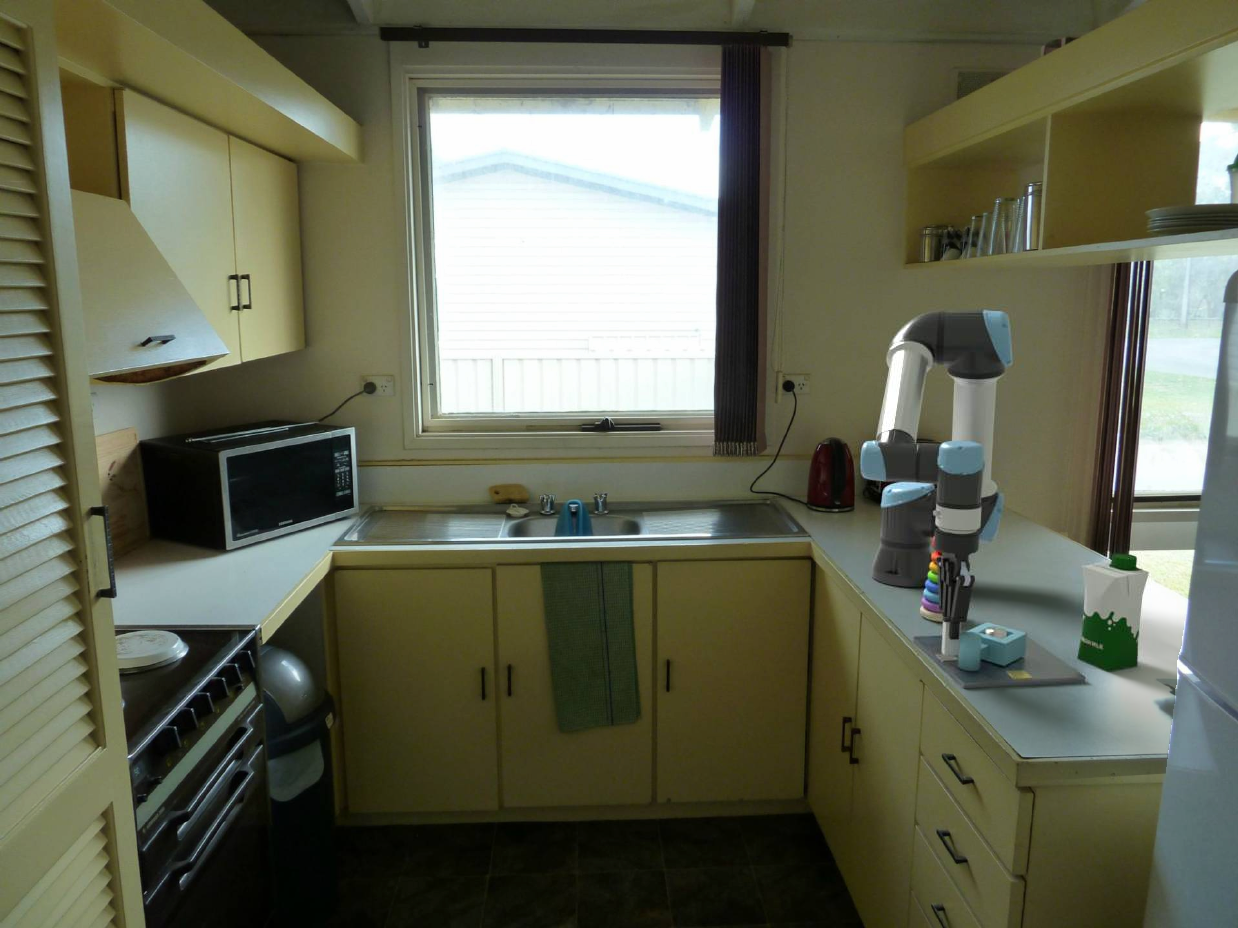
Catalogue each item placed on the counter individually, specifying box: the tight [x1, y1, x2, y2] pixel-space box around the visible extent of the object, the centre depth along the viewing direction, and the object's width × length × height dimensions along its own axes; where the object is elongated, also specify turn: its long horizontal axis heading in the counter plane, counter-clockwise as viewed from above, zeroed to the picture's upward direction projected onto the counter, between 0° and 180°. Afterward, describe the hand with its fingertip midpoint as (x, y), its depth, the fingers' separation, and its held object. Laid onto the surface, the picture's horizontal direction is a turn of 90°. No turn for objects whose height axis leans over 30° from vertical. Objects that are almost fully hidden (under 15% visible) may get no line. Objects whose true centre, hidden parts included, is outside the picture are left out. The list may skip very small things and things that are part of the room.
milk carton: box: [1076, 552, 1150, 673], centre depth 167 cm, size 9×9×20 cm
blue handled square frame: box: [958, 621, 1028, 671], centre depth 167 cm, size 8×15×6 cm, turn 130°
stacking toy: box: [919, 538, 945, 623], centre depth 192 cm, size 8×8×19 cm
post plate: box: [912, 627, 1086, 689], centre depth 170 cm, size 22×22×6 cm
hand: (950, 653), depth 167 cm, fingers closed
